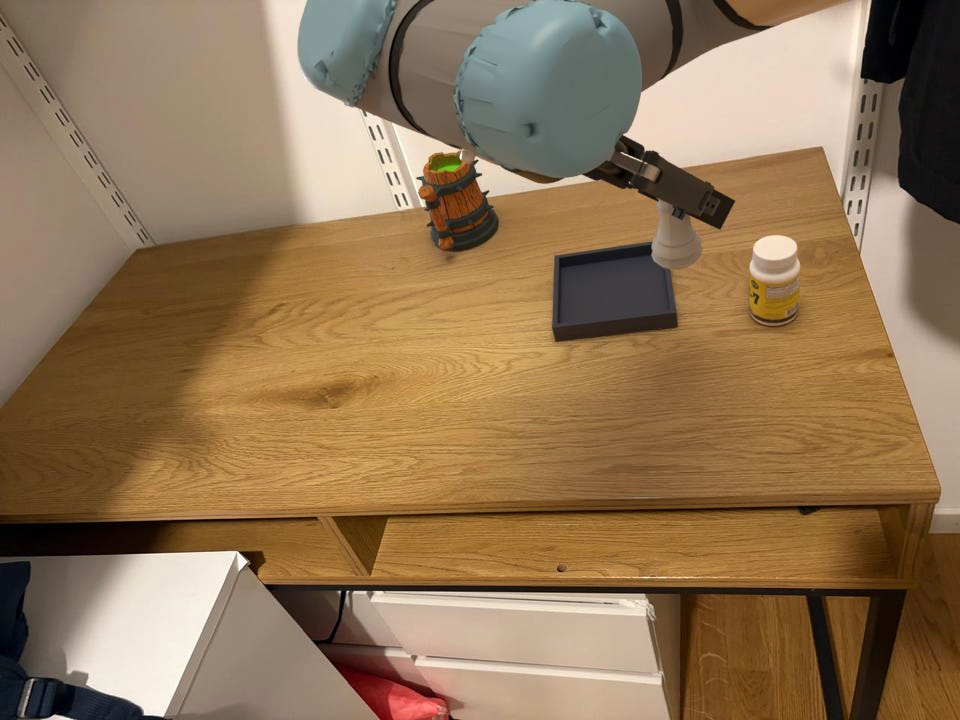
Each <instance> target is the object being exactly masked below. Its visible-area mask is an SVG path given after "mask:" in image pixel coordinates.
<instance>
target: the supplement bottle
mask: <svg viewBox="0 0 960 720" xmlns="http://www.w3.org/2000/svg"><path fill="white" fill-rule="evenodd" d="M748 273H749V275H748V277H749V282H748V283H749V284H748V285H749V286H748V287H749V288H748V291H749V293H748V294H749V295H748V296H749V297H748V298H749V301H748V303H749V306H748V307H749V309H748V310H749V314H750V316H751V317H752V319H753V320H754V321H755V322H757V323H759V324H761V325H764V326H769V327H776V326H782V325H786V324H789V323H790V322H792V321H793V320H794V319H795V318H796V317H797V315H798V313H799V308H800V307H799V305H800V287H801V286H800V285H801V282H800V281H801V263H800V260H799V259H798V245H797V242H796V241H795V240H794V239H793V238H790V237H788V236H786V235H781V234H780V235H779V234H778V235H777V234H773V235H767V236H764V237H761V238H760V239H758V240H757V241H756V242H755V243H754V244H753V247H752V259H751V261H750V263H749V270H748Z"/></svg>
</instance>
